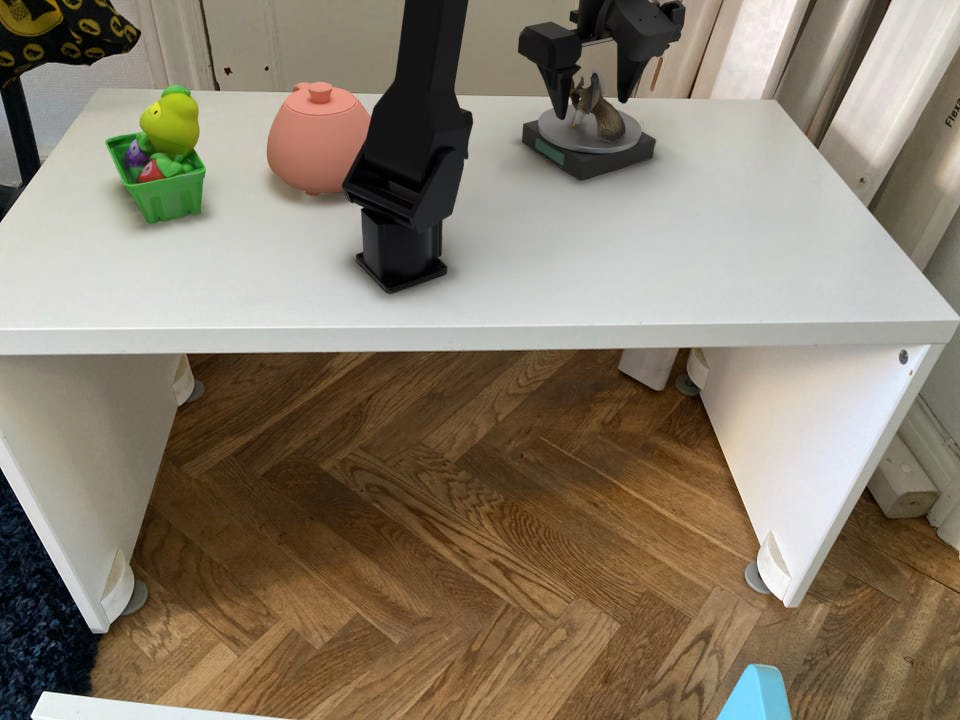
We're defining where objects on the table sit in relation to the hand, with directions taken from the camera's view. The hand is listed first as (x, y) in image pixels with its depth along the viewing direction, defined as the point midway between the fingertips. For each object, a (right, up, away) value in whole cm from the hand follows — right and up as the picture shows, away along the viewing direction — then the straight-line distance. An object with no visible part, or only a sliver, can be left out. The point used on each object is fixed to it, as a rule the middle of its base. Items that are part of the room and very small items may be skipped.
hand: (592, 110), depth 94 cm
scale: (0, -4, +3) cm, 5 cm away
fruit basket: (-45, -12, -9) cm, 47 cm away
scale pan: (0, -2, +2) cm, 2 cm away
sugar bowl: (-30, -8, -4) cm, 31 cm away
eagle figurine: (0, -2, +1) cm, 2 cm away
